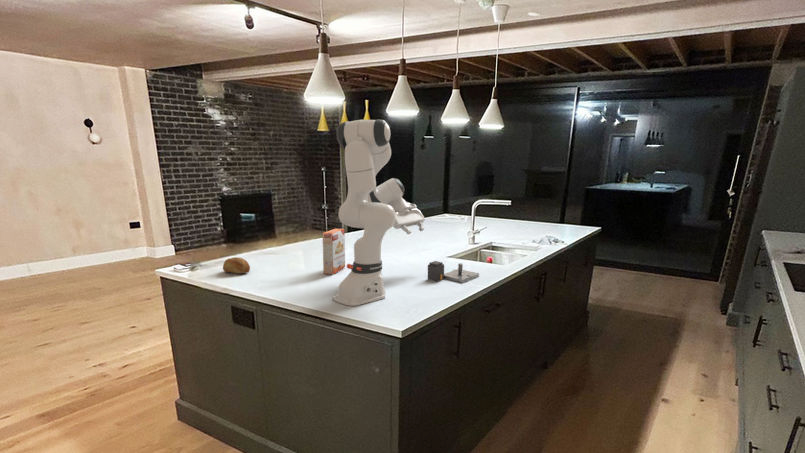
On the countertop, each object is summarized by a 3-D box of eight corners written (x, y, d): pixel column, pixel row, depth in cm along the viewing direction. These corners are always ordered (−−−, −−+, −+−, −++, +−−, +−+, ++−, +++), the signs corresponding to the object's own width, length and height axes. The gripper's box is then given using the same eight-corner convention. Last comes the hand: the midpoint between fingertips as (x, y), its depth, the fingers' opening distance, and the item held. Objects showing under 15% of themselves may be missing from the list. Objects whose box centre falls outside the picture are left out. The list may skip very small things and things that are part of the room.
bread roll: (241, 277, 192) (239, 261, 191) (217, 274, 198) (216, 258, 196) (255, 272, 201) (253, 256, 200) (232, 269, 206) (231, 254, 205)
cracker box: (334, 275, 194) (332, 233, 190) (323, 274, 196) (321, 232, 192) (346, 267, 207) (345, 228, 204) (335, 266, 209) (334, 228, 205)
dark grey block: (438, 281, 183) (438, 265, 181) (427, 279, 187) (427, 262, 185) (445, 279, 187) (445, 262, 185) (434, 276, 191) (434, 260, 189)
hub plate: (462, 283, 180) (462, 269, 179) (441, 277, 188) (441, 264, 187) (478, 276, 191) (479, 263, 189) (458, 271, 199) (458, 259, 197)
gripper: (389, 208, 187) (405, 231, 182) (417, 204, 202) (432, 225, 197) (383, 216, 191) (398, 239, 186) (411, 211, 205) (425, 232, 201)
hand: (416, 231), depth 192 cm, fingers open, 8 cm apart
